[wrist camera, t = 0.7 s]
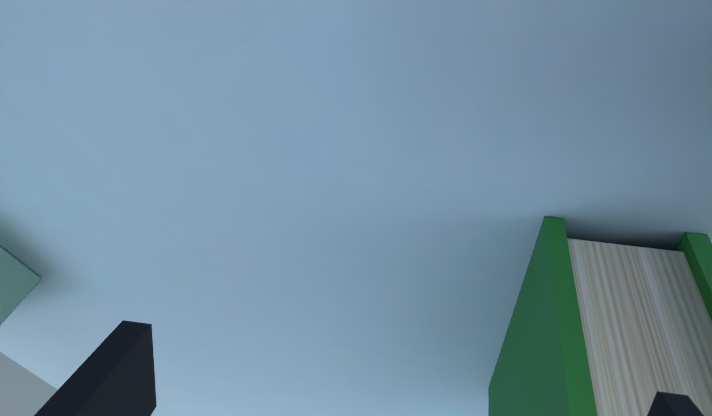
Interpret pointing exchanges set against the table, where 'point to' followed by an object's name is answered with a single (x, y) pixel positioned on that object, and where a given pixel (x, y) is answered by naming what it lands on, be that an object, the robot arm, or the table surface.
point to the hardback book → (606, 329)
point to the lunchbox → (13, 283)
